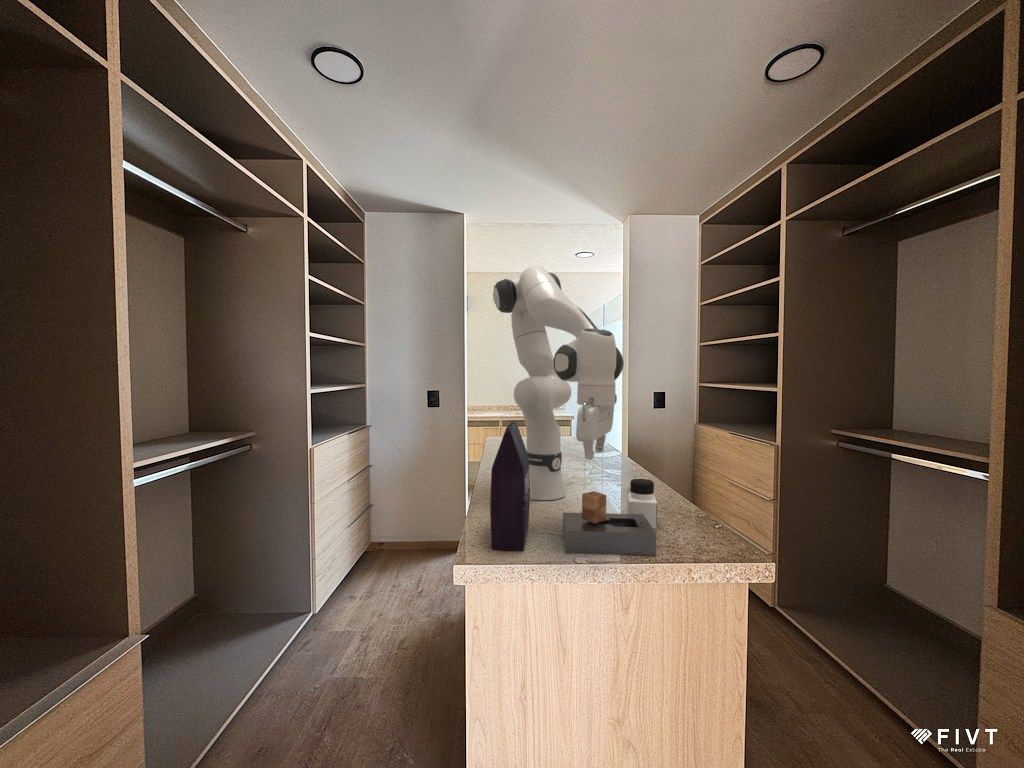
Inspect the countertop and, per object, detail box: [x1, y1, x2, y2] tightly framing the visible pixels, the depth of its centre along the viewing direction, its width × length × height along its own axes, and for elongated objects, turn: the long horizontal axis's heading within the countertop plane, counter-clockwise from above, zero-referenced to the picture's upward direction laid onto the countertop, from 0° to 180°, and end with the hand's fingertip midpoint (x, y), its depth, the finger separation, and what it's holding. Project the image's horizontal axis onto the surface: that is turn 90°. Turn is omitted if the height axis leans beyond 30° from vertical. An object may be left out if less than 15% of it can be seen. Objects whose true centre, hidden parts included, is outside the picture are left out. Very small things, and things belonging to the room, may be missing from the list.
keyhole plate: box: [562, 511, 657, 556], centre depth 107 cm, size 20×13×5 cm, turn 86°
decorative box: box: [489, 420, 531, 552], centre depth 110 cm, size 8×16×28 cm, turn 174°
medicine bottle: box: [626, 477, 658, 530], centre depth 120 cm, size 7×7×12 cm
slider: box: [581, 490, 607, 524], centre depth 107 cm, size 4×4×12 cm
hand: (594, 455), depth 107 cm, fingers open, 8 cm apart
